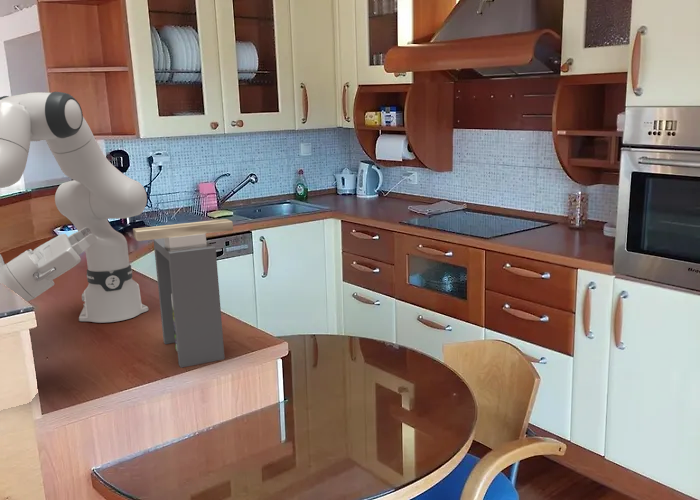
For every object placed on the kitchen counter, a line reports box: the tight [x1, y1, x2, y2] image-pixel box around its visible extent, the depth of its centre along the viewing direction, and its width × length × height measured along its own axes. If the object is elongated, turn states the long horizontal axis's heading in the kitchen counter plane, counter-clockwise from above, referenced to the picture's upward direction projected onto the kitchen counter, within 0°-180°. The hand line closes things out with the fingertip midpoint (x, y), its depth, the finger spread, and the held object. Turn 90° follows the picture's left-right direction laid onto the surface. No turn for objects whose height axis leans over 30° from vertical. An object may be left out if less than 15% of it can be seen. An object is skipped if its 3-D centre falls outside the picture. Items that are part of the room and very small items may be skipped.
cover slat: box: [132, 218, 234, 242], centre depth 148 cm, size 5×21×2 cm, turn 116°
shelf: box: [153, 238, 226, 368], centre depth 156 cm, size 20×10×26 cm, turn 26°
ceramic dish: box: [164, 233, 207, 252], centre depth 149 cm, size 6×8×3 cm
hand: (92, 232), depth 140 cm, fingers open, 8 cm apart
